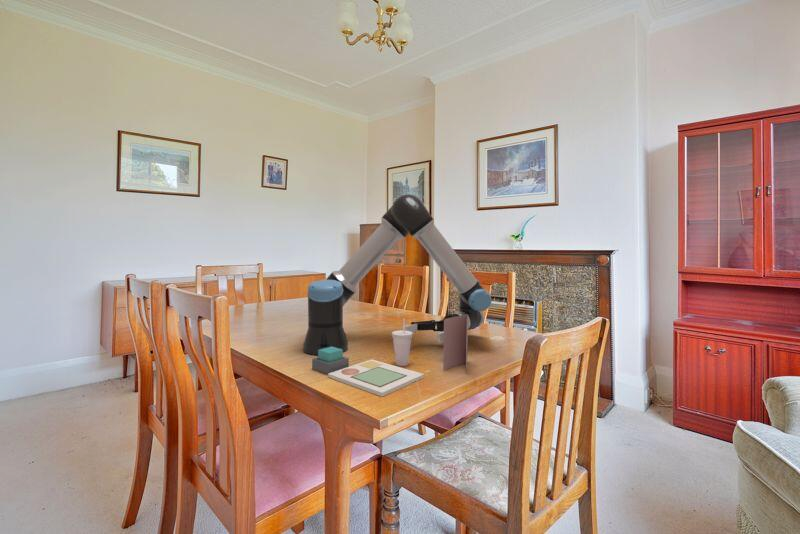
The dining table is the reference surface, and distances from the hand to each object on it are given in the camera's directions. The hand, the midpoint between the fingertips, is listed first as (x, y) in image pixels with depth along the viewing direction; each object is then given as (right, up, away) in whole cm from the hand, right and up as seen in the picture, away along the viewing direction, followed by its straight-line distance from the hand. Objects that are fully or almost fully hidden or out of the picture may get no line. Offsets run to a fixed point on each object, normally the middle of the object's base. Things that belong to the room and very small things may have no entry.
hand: (421, 334), depth 120 cm
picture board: (-13, -9, -18) cm, 24 cm away
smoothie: (-6, -8, -7) cm, 12 cm away
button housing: (-27, -8, -11) cm, 30 cm away
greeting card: (+12, -8, -10) cm, 18 cm away
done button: (-27, -5, -12) cm, 30 cm away
